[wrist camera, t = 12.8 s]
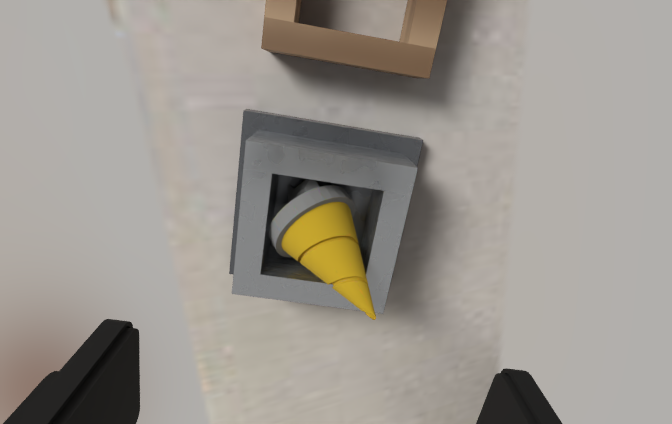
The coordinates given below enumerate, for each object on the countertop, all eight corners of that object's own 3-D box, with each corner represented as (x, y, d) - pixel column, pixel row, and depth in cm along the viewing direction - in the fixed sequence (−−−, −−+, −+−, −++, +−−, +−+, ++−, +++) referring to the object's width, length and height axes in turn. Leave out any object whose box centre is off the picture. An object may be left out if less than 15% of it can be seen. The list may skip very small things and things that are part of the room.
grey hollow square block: (246, 109, 24) (227, 117, 20) (419, 137, 25) (441, 152, 20) (232, 267, 28) (213, 306, 23) (384, 287, 29) (395, 329, 24)
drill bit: (336, 148, 25) (434, 276, 20) (310, 205, 28) (388, 325, 24) (259, 155, 21) (355, 310, 17) (240, 219, 25) (316, 361, 20)
